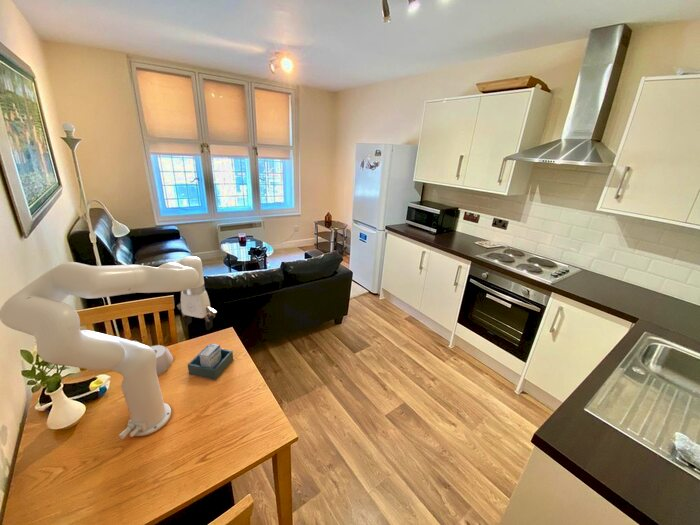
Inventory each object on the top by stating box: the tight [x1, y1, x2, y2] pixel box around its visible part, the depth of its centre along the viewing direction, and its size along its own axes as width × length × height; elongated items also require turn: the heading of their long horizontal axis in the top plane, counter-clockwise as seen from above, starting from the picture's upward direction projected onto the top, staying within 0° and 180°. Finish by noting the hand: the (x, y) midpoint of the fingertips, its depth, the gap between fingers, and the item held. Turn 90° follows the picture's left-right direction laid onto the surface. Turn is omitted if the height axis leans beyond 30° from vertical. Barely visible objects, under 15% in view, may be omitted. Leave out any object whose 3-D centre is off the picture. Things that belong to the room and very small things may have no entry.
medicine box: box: [199, 343, 222, 369], centre depth 123 cm, size 8×4×9 cm, turn 168°
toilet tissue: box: [149, 344, 174, 377], centre depth 122 cm, size 9×13×9 cm
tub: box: [187, 345, 234, 381], centre depth 124 cm, size 13×13×5 cm
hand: (199, 325), depth 116 cm, fingers open, 9 cm apart
